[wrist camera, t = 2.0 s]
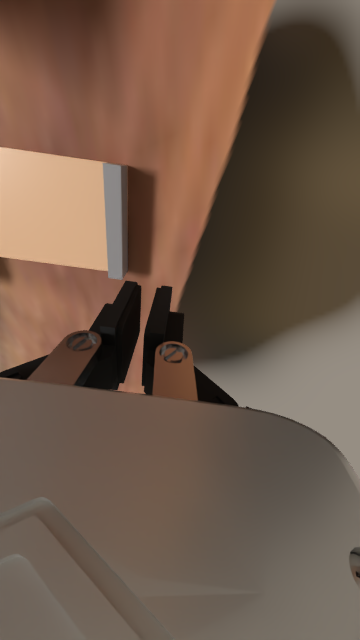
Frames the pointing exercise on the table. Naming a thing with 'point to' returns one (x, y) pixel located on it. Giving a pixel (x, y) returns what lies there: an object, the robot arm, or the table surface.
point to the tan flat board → (64, 211)
